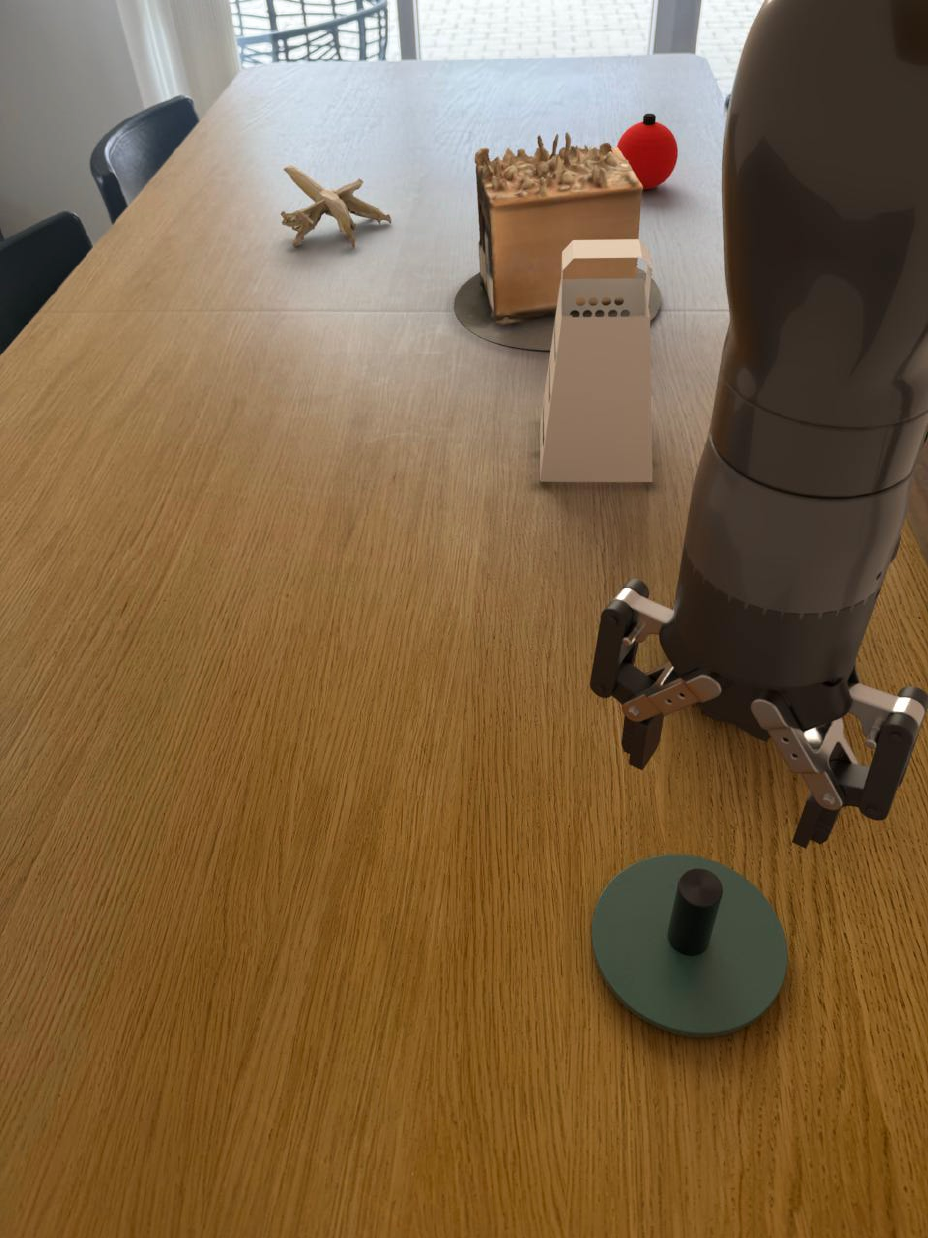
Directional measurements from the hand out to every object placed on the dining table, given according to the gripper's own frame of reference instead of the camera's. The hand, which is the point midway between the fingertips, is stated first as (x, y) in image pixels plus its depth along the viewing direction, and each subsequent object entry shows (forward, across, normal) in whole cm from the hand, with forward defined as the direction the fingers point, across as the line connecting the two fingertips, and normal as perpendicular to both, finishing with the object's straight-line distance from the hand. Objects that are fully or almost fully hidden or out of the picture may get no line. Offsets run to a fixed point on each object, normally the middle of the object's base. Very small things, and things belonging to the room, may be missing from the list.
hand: (722, 793), depth 48 cm
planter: (+14, -48, +68) cm, 84 cm away
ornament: (+14, -55, +106) cm, 121 cm away
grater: (+14, -29, +42) cm, 53 cm away
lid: (+13, 0, -1) cm, 13 cm away
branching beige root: (+14, -86, +71) cm, 112 cm away
